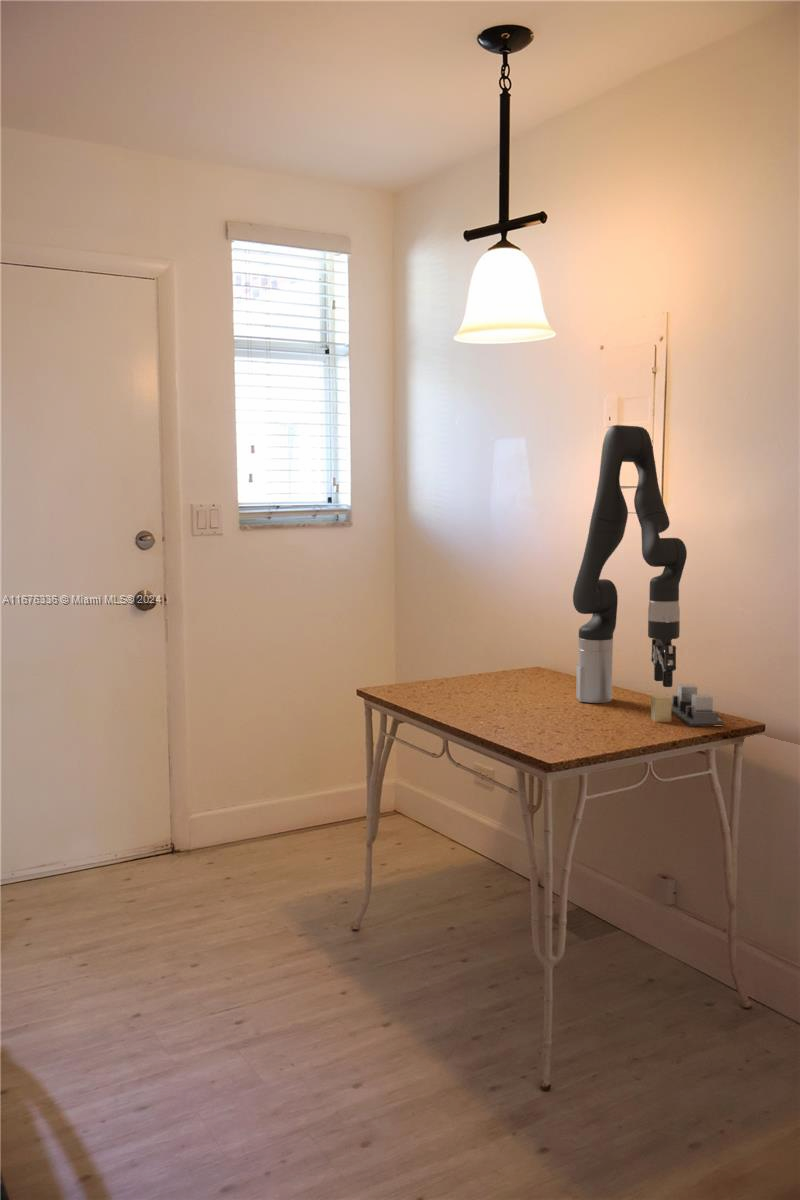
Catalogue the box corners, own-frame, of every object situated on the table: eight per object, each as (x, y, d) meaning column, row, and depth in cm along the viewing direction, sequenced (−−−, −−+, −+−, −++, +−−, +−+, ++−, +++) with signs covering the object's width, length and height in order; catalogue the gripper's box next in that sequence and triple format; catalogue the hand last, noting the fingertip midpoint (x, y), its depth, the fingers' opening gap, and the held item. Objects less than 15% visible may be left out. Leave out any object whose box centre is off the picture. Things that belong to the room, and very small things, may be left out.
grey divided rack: (689, 726, 239) (690, 699, 238) (667, 708, 260) (668, 683, 259) (722, 726, 239) (723, 699, 238) (697, 708, 260) (698, 683, 259)
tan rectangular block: (654, 721, 245) (655, 698, 244) (651, 718, 249) (651, 694, 248) (671, 722, 245) (671, 698, 244) (667, 718, 248) (667, 694, 248)
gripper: (641, 616, 251) (641, 679, 252) (655, 622, 237) (654, 689, 238) (671, 615, 251) (670, 679, 252) (687, 621, 237) (686, 688, 238)
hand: (663, 683), depth 245 cm, fingers open, 8 cm apart
